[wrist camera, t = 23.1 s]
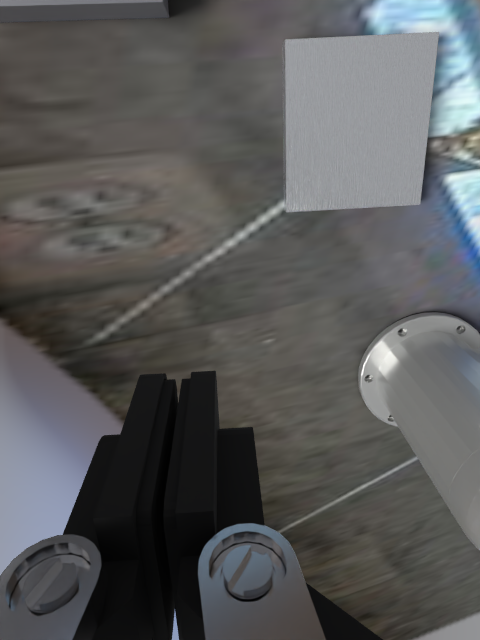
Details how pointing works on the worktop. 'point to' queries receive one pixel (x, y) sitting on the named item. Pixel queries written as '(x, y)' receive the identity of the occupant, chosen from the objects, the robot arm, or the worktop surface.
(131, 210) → the worktop surface
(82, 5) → the slot holder
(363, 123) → the cover plate
